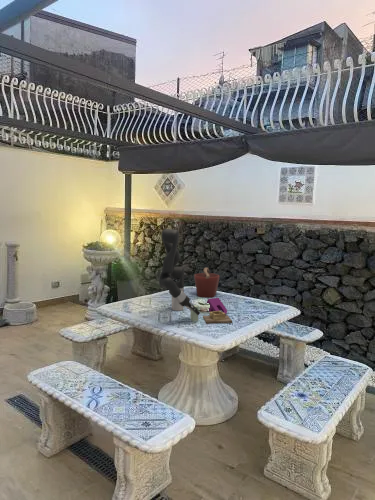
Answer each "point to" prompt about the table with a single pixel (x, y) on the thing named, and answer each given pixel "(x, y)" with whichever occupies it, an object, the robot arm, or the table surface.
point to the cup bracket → (217, 318)
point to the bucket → (206, 284)
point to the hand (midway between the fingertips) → (196, 312)
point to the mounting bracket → (216, 305)
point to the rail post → (194, 315)
